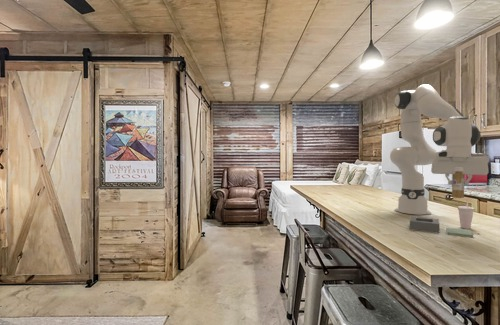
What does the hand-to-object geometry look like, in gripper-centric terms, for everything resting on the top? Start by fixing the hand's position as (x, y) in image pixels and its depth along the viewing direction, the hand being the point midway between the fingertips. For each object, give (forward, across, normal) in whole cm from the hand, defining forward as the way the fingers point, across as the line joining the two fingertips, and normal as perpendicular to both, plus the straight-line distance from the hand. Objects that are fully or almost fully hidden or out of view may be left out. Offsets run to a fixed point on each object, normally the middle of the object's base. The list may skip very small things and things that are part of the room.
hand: (458, 184), depth 125 cm
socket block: (+21, +12, -2) cm, 25 cm away
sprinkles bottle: (+6, 0, 0) cm, 6 cm away
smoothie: (+22, -4, -13) cm, 26 cm away
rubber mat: (+22, 0, 0) cm, 22 cm away
